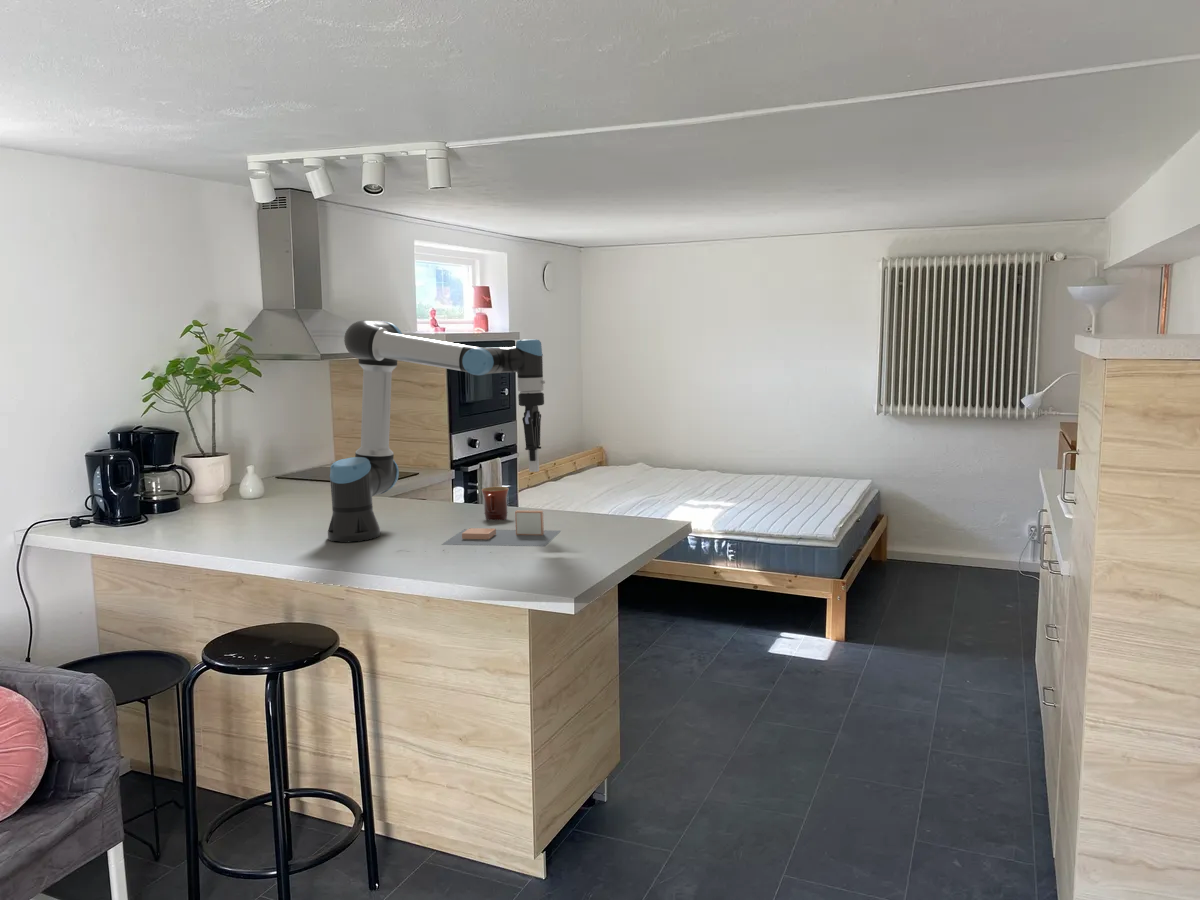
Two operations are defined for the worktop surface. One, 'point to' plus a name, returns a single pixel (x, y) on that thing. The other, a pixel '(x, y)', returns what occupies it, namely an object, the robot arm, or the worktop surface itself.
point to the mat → (506, 539)
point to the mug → (495, 503)
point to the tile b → (529, 522)
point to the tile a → (478, 533)
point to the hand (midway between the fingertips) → (534, 471)
